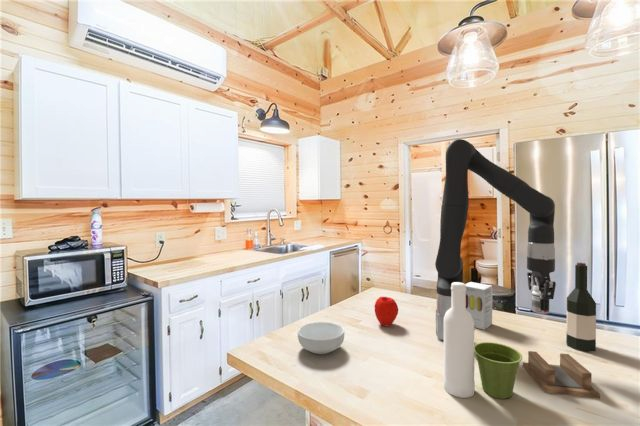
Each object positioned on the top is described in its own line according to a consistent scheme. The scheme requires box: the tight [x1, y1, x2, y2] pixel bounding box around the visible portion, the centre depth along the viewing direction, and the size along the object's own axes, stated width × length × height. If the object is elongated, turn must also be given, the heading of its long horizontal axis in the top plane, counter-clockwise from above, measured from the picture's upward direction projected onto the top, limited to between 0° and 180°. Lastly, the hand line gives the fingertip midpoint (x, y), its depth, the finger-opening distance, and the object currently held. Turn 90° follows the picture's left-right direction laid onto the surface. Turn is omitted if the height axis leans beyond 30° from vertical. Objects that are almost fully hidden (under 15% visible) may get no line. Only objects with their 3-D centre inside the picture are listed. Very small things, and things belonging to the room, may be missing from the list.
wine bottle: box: [565, 262, 597, 353], centre depth 110 cm, size 8×8×30 cm
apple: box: [374, 296, 399, 327], centre depth 134 cm, size 10×10×12 cm
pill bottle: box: [531, 285, 550, 315], centre depth 102 cm, size 5×5×8 cm
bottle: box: [442, 282, 476, 399], centre depth 86 cm, size 8×8×30 cm
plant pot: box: [474, 341, 523, 400], centre depth 86 cm, size 12×12×11 cm
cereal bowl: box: [297, 321, 345, 355], centre depth 113 cm, size 17×17×7 cm
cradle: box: [522, 350, 601, 398], centre depth 90 cm, size 13×14×6 cm
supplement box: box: [464, 281, 493, 331], centre depth 133 cm, size 10×9×17 cm
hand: (540, 307), depth 102 cm, fingers closed on pill bottle, 4 cm apart
